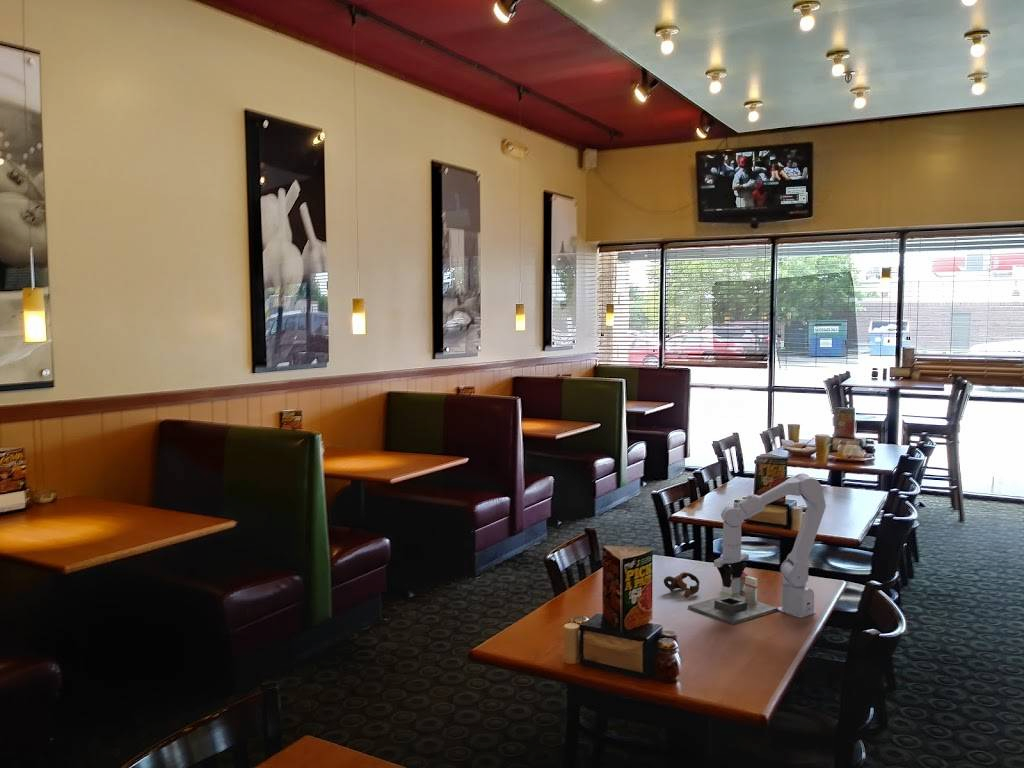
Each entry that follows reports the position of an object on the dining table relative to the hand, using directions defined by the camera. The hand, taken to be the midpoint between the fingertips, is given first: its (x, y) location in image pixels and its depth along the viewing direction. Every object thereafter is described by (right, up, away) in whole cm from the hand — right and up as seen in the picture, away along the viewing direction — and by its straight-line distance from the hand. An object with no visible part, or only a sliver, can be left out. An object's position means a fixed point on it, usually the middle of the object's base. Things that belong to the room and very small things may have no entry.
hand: (731, 585), depth 264 cm
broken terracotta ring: (-12, -7, +17) cm, 23 cm away
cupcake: (+7, -7, +21) cm, 24 cm away
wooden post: (0, -3, 0) cm, 3 cm away
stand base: (0, -8, 0) cm, 8 cm away
